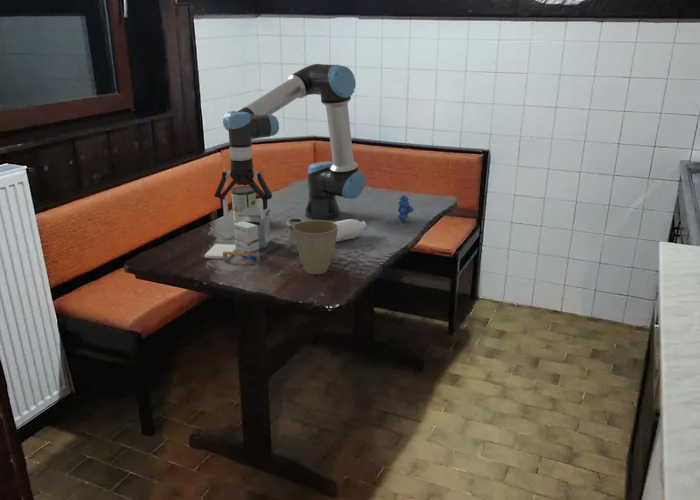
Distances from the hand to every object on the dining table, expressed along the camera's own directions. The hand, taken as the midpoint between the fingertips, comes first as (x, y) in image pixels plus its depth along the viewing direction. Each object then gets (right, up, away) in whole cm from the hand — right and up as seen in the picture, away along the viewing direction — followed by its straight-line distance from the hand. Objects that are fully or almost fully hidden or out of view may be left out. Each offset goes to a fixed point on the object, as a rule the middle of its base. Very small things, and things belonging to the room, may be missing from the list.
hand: (244, 217), depth 220 cm
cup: (+18, -12, +9) cm, 23 cm away
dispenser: (+1, -12, +9) cm, 15 cm away
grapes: (+61, 0, +41) cm, 74 cm away
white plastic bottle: (+35, -8, +21) cm, 41 cm away
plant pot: (+26, -19, -9) cm, 34 cm away
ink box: (0, -14, +5) cm, 15 cm away
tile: (-10, -13, +7) cm, 17 cm away
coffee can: (-7, 0, +43) cm, 43 cm away
